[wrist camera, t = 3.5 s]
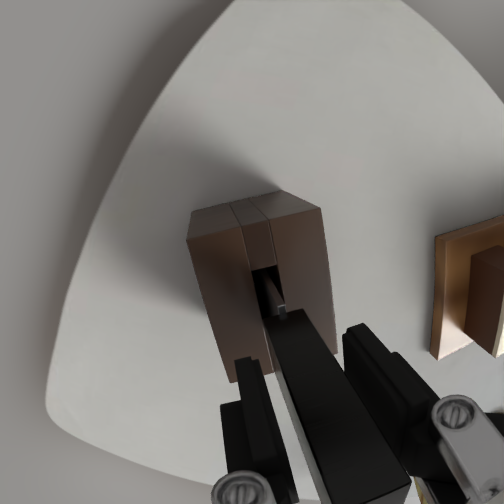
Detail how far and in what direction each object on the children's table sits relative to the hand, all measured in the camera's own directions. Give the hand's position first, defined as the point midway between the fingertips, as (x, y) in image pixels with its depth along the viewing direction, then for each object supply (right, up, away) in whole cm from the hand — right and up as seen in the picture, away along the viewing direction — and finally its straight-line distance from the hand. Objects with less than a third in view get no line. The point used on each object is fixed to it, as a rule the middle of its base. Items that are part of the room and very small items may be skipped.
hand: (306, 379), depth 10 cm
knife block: (-2, +4, +12) cm, 13 cm away
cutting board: (+22, +2, +16) cm, 27 cm away
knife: (-2, +4, +12) cm, 13 cm away
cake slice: (+20, +1, +15) cm, 24 cm away
